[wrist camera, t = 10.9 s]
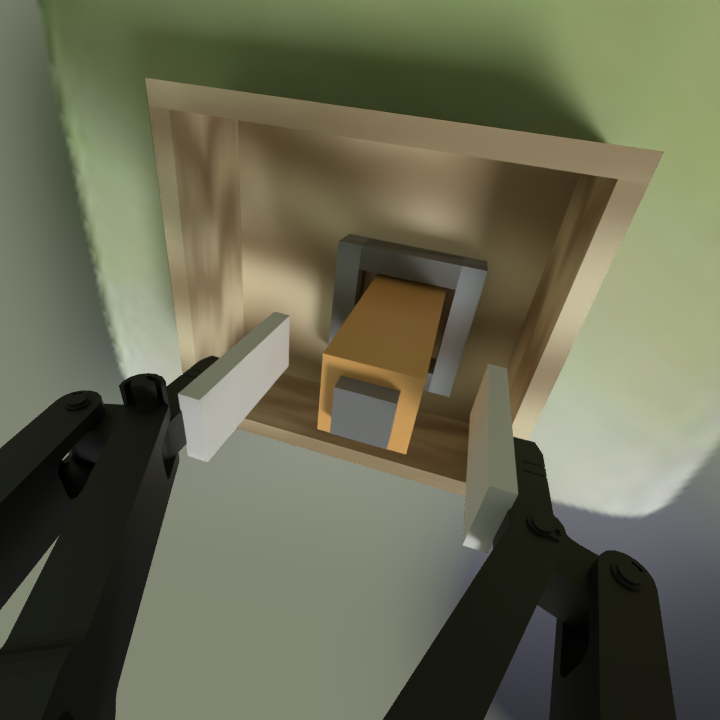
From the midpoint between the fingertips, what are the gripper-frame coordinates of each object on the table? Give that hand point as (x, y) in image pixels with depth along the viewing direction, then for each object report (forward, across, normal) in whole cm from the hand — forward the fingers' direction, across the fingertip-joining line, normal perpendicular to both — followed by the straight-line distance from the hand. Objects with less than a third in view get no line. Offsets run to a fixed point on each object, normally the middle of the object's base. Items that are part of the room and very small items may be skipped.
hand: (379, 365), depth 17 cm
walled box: (+8, -2, 0) cm, 9 cm away
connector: (+8, 0, 0) cm, 8 cm away
